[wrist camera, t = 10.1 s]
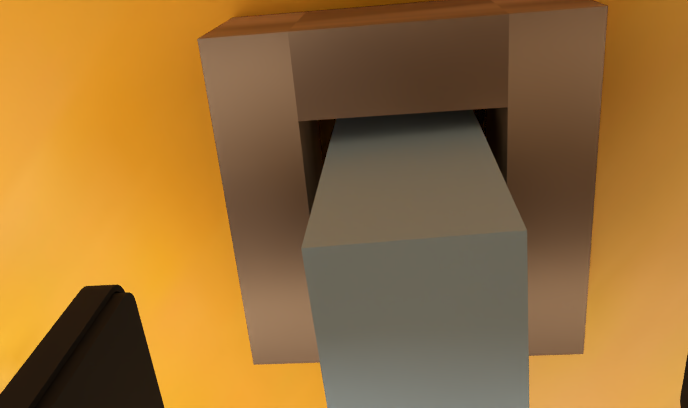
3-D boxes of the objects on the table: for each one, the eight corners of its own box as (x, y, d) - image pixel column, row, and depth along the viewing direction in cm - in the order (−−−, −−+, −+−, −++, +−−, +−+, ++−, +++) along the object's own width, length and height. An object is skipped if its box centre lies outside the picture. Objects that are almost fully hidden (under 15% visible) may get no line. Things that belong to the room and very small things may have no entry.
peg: (339, 105, 21) (301, 248, 12) (465, 92, 20) (527, 230, 11) (354, 217, 22) (329, 421, 13) (470, 208, 22) (529, 411, 13)
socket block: (232, 17, 20) (197, 38, 16) (565, -11, 19) (608, 5, 15) (274, 296, 24) (253, 364, 20) (552, 284, 23) (583, 354, 19)
